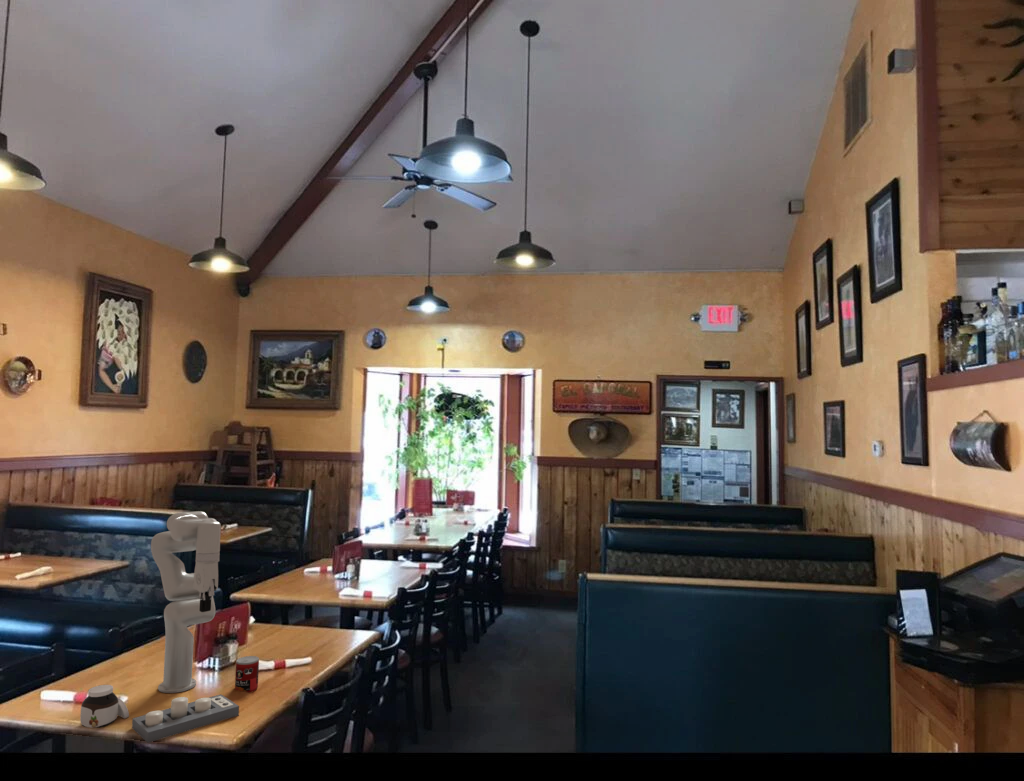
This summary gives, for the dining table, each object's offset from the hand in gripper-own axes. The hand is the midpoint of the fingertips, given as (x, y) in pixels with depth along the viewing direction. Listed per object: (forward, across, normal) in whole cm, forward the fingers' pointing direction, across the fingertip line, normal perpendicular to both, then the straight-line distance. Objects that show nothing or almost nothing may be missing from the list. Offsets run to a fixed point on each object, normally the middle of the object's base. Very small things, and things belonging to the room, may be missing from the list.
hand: (205, 610), depth 229 cm
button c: (+32, +9, -18) cm, 38 cm away
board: (+33, +9, -8) cm, 35 cm away
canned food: (+33, -6, +19) cm, 39 cm away
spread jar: (+33, -10, -26) cm, 43 cm away
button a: (+32, +9, -3) cm, 33 cm away
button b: (+30, +9, -11) cm, 33 cm away
